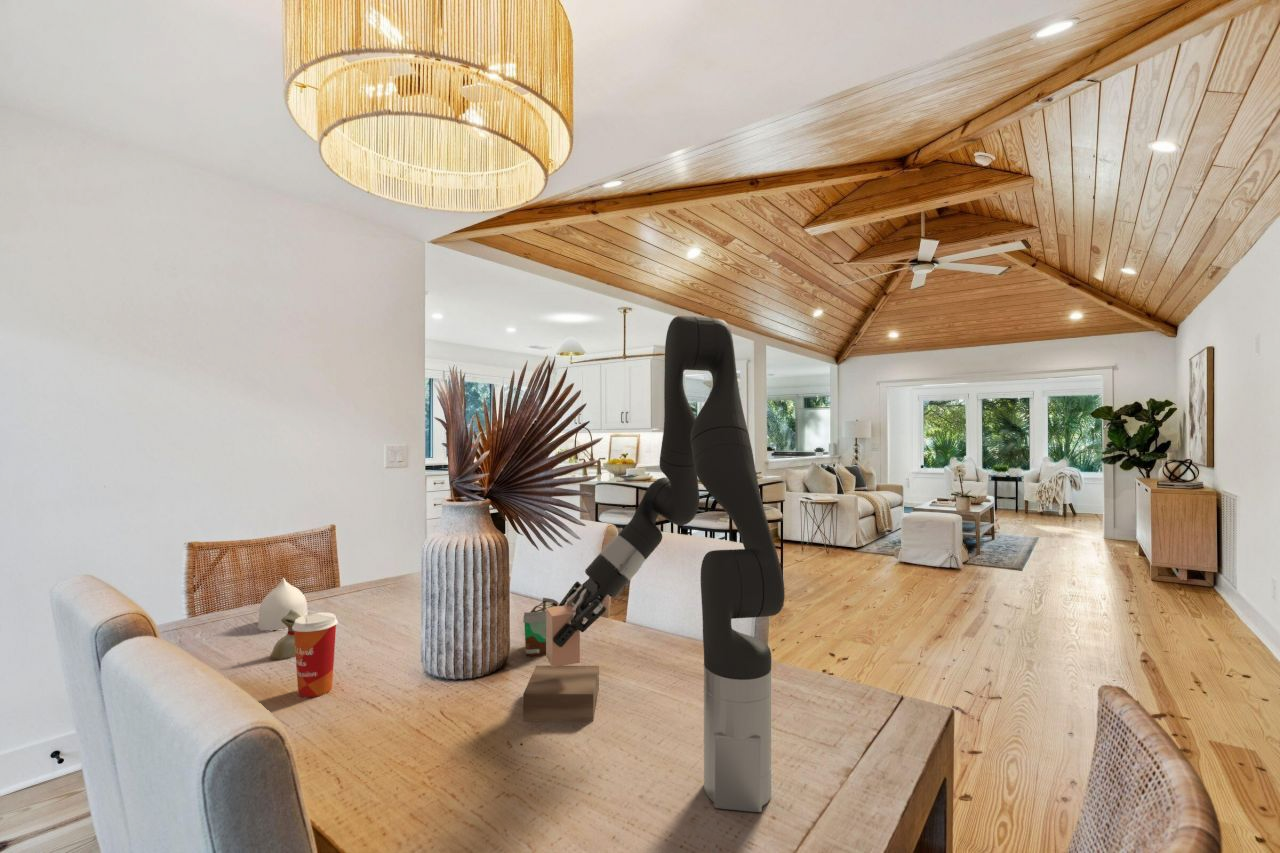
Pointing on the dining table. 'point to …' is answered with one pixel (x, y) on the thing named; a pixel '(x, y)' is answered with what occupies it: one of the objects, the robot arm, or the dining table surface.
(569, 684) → the walnut block
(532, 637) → the food container
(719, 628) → the robot arm
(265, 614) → the teardrop
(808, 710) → the dining table surface
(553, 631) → the peach tall block
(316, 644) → the paper cup
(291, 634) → the tied pouch
